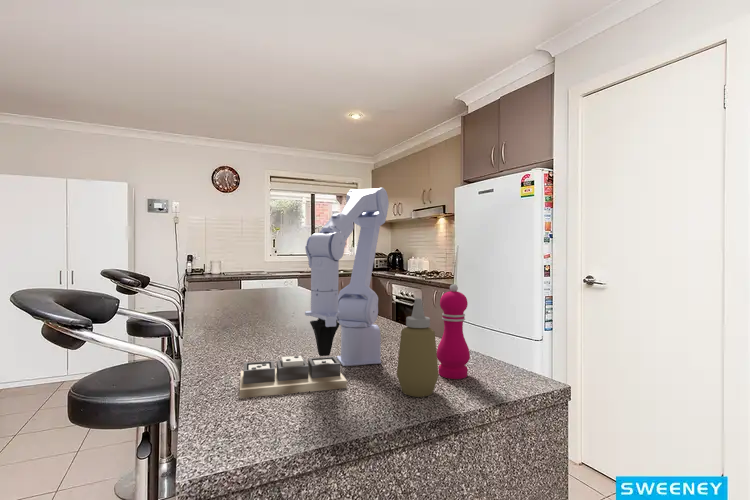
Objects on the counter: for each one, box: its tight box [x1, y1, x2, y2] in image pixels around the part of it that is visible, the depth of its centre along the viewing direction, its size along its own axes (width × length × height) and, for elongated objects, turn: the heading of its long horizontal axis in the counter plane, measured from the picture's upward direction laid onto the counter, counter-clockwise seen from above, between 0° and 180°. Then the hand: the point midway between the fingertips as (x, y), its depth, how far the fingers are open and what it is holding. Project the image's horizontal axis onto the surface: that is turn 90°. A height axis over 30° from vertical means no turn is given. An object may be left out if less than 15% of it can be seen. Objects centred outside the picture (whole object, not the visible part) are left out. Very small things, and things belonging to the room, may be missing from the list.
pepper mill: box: [436, 283, 471, 380], centre depth 87 cm, size 7×7×20 cm
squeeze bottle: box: [396, 297, 440, 398], centre depth 76 cm, size 8×8×18 cm
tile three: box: [249, 364, 270, 370], centre depth 79 cm, size 4×4×2 cm
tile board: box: [238, 356, 348, 399], centre depth 81 cm, size 20×12×4 cm, turn 107°
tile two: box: [281, 355, 304, 367], centre depth 81 cm, size 4×4×2 cm
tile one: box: [313, 359, 334, 365], centre depth 83 cm, size 4×4×2 cm
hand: (324, 355), depth 83 cm, fingers closed
